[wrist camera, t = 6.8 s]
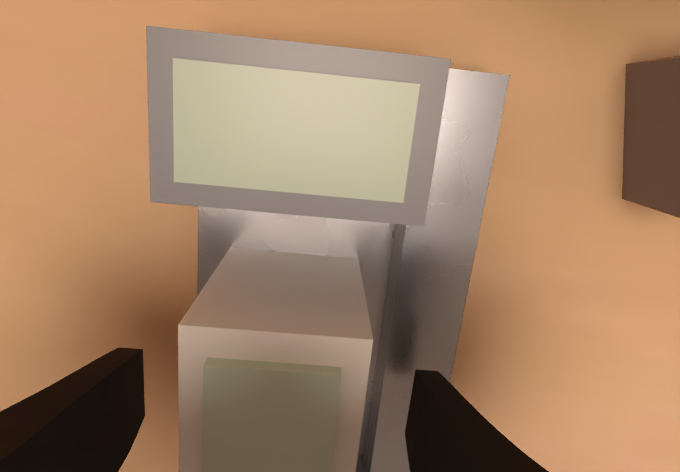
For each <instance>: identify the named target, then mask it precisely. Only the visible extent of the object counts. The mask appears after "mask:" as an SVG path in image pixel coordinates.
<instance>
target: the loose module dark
mask: <svg viewBox="0 0 680 472" xmlns="http://www.w3.org/2000/svg"><path fill="white" fill-rule="evenodd" d="M622 199H625V200H628V201H631V202H634V203H637V204H640V205H643V206H646V207H649V208H652V209H655V210H658V211H661V212H664V213H667V214H670V215H673V216H676V217H679V218H680V56H674V57H668V58H661V59H655V60H649V61H643V62H637V63H631V64H626V84H625V118H624V153H623V187H622Z"/></svg>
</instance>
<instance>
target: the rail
mask: <svg viewBox="0 0 680 472" xmlns="http://www.w3.org/2000/svg"><path fill="white" fill-rule="evenodd" d="M509 77H510V75H505V74H496V73H487V72H478V71H468V70H459V69H450V68H449V75H448V81H447V87H446V94H445V100H444V106H443V113H442V119H441V125H440V131H439V138H438V144H437V150H436V157H435V163H434V169H433V176H432V182H431V188H430V194H429V201H428V207H427V213H426V220H425V226H424V227H423V226H412V225H401V224H390V223H378V222H367V221H356V220H345V219H334V218H323V217H312V216H300V215H289V214H278V213H267V212H256V211H245V210H234V209H222V208H211V207H200V206H198V295H199V293H200V292H201V290H202V289H203V287H204V286H205V284H206V283H207V281H208V280H209V278H210V277H211V275H212V274H213V272H214V271H215V269H216V268H217V266H218V265H219V263H220V262H221V260H222V259H223V258H224V256H225V255H226V253H227V252H228V250H229V249H230V248H242V249H253V250H265V251H277V252H289V253H301V254H312V255H324V256H336V257H348V258H358V260H359V265H360V270H361V276H362V281H363V287H364V292H365V298H366V303H367V308H368V314H369V319H370V325H371V330H372V336H373V345H372V353H371V360H370V368H369V375H368V383H367V390H366V398H365V405H364V412H363V420H362V427H361V435H360V442H359V450H358V457H357V461H362V465H363V472H410V469H409V462H408V455H407V447H406V439H405V428H406V422H407V417H408V411H409V405H410V399H411V393H412V387H413V381H414V375H415V369H417V370H431V371H438V372H439V373H441V374H442V375H443V376H444V377H445V378H446V379H447V380H448V381H449V383H450V378H451V373H452V368H453V363H454V357H455V352H456V347H457V342H458V337H459V332H460V327H461V322H462V317H463V312H464V306H465V301H466V296H467V291H468V286H469V281H470V276H471V271H472V266H473V261H474V255H475V250H476V245H477V240H478V235H479V230H480V225H481V220H482V215H483V209H484V204H485V199H486V194H487V189H488V184H489V179H490V174H491V169H492V164H493V158H494V153H495V148H496V143H497V138H498V133H499V128H500V123H501V118H502V113H503V107H504V102H505V97H506V92H507V87H508V82H509Z"/></svg>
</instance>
